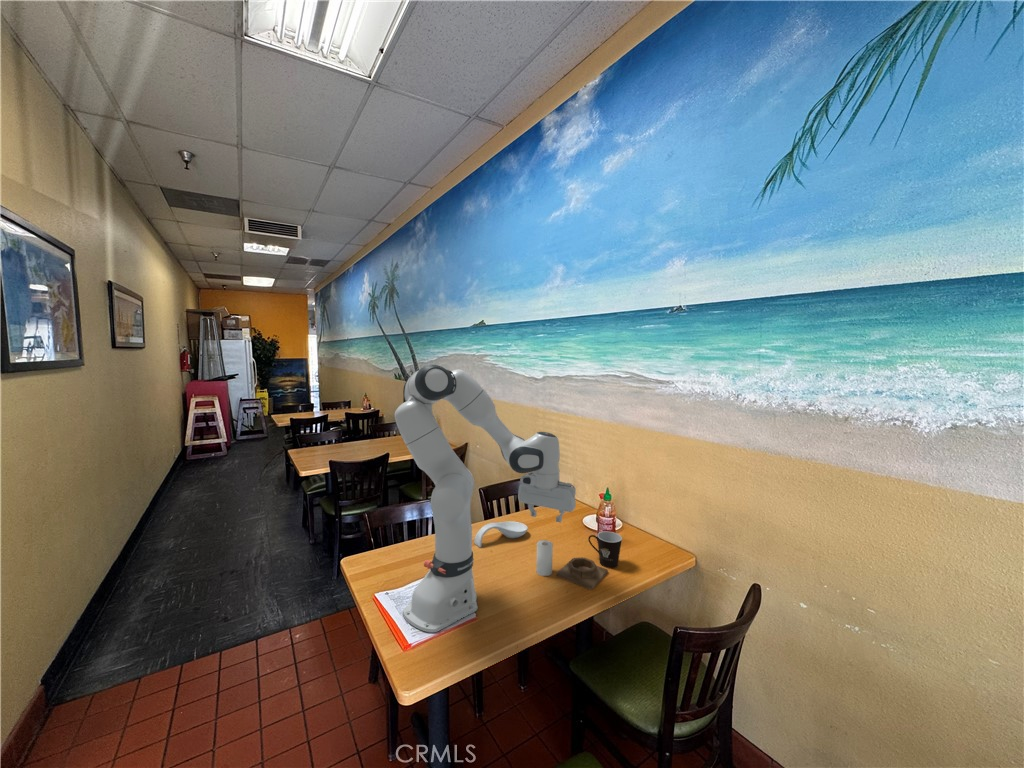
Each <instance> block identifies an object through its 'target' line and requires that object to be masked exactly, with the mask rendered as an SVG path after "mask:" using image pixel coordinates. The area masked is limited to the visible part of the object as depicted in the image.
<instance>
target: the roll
mask: <svg viewBox="0 0 1024 768" xmlns="http://www.w3.org/2000/svg"><path fill="white" fill-rule="evenodd" d="M553 547H554V545H553V542H552V541H550V540H547V539H546V540H545V539H544V540H543V539H541V540H539V541H537V543H536V573H537V575H539V576H541V577H548V576H551V575H552V574H553V554H554V553H553V551H554V549H553Z"/></svg>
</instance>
